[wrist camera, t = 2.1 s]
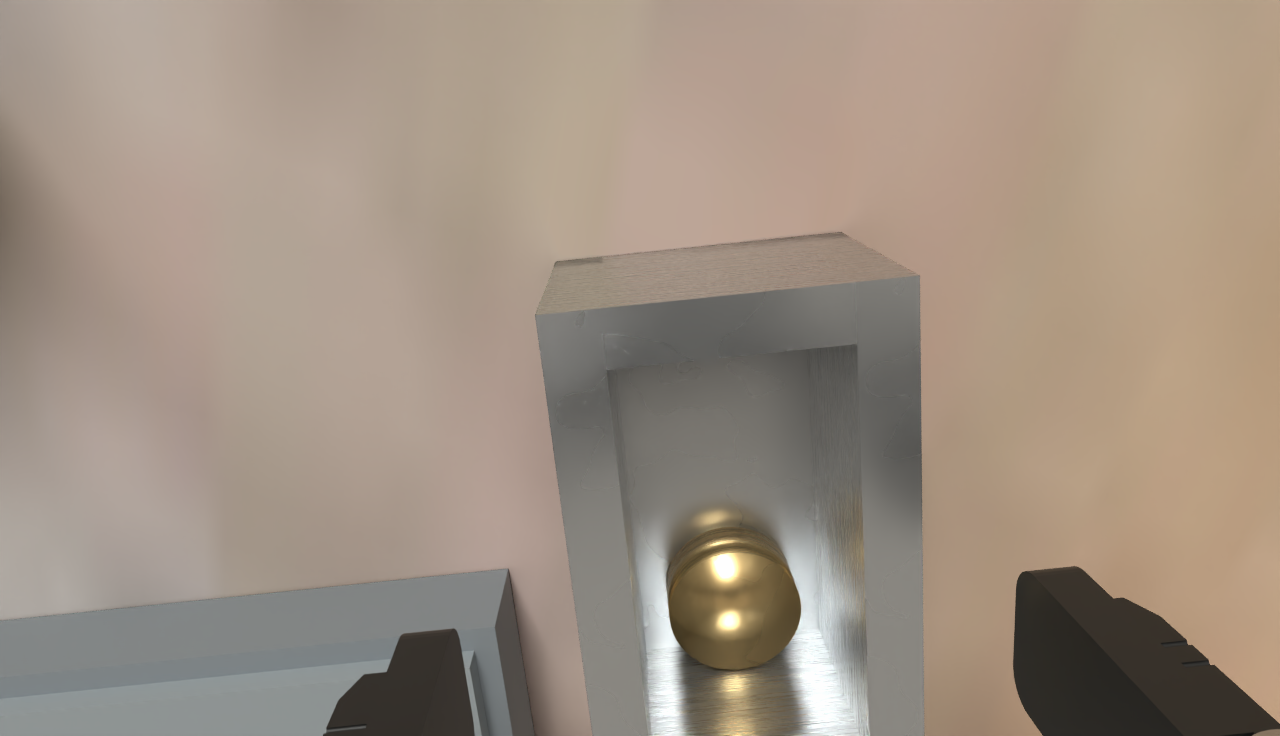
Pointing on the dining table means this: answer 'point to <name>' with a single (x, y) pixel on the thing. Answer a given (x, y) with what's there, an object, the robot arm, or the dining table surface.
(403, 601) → the plinth
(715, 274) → the housing
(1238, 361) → the dining table surface
